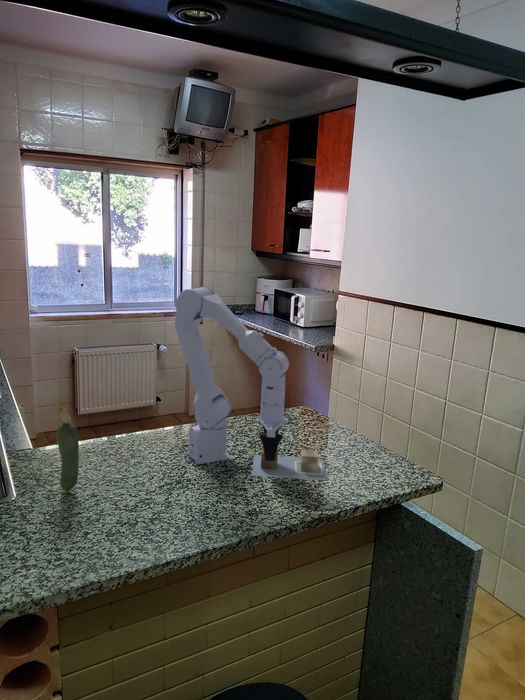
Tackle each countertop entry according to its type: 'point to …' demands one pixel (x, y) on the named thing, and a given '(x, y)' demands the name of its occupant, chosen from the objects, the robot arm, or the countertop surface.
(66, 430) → the vegetable
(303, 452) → the maple block
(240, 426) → the countertop surface
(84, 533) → the countertop surface
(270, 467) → the walnut block
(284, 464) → the board
